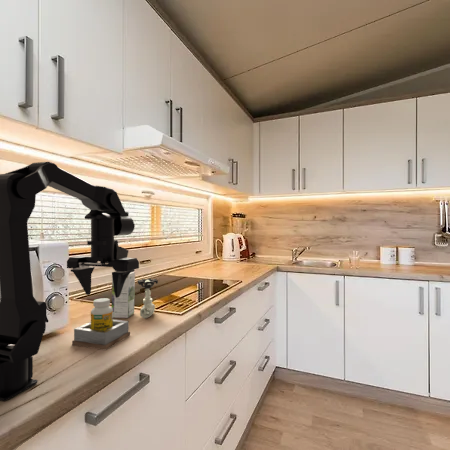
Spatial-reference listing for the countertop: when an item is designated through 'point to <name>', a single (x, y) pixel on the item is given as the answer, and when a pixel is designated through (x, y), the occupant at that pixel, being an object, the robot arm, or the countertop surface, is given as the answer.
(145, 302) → the valve
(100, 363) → the countertop surface
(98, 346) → the sleeve holder
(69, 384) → the countertop surface
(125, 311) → the syrup box
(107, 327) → the supplement bottle
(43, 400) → the countertop surface
